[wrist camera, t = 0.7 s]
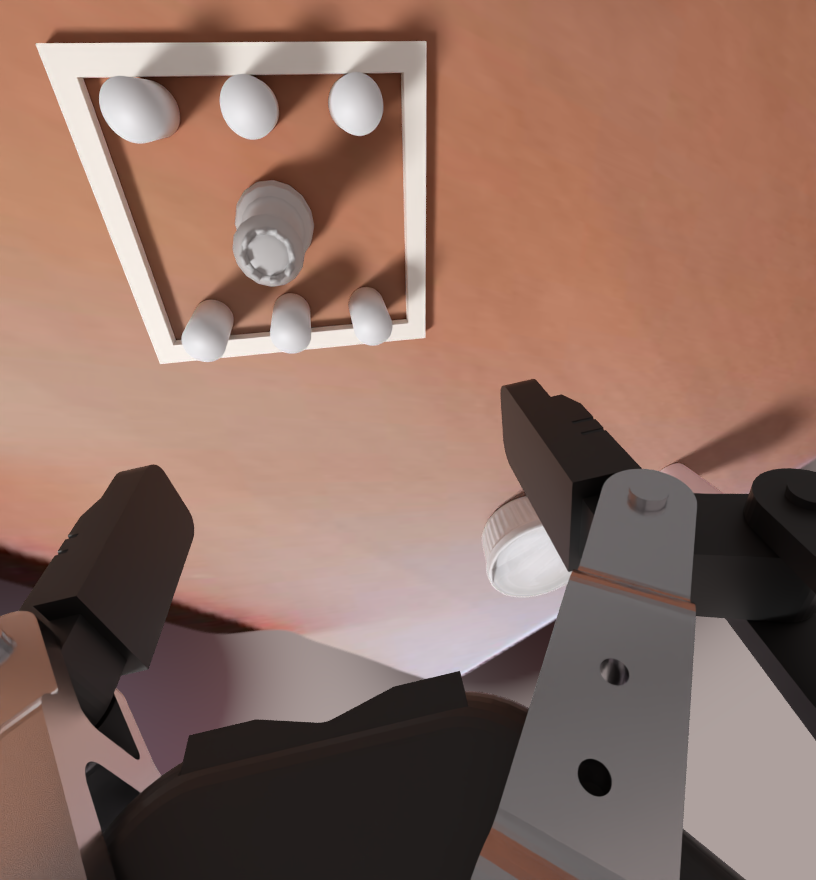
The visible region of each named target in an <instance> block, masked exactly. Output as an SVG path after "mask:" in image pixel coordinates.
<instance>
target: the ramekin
mask: <svg viewBox="0 0 816 880" xmlns="http://www.w3.org/2000/svg"><path fill="white" fill-rule="evenodd" d="M482 546H483V551H484V555H485V560H486V572H487V576H488V579H489V581H490V583H491V585H492V586H493V587H494V588H495V589H496V590H497V591H499V592H500V593H502V594H505V595H508V596H512V597H533V596H538V595H542V594H546V593H549V592H552V591H554V590H556V589H559V588H561V587H562V586H564V585H566V584H568V581H569V578H570V575H571V573H572V571H571V572H568V571H567V569H566V567H565V565H564V563H563V562H562V560H561V558H560V556H559V554H558V552H557V551H556V549H555V547H554V545H553V543H552V541H551V540H550V538H549V536H548V534H547V532H546V531H545V529H544V527H543V525H542V523H541V521H540V520H539V518H538V516H537V514H536V512H535V510H534V509H533V507H532V505H531V503H530V501H529V499H528V498H527V496H524V497H520V498H517V499H515V500H512V501H510V502H508V503H506V504H505V505H503V506H502V507H500V508H499V509H498V510H497V511H496V512H494V514H493V515H492V516H491V517H490V518H489V520H488V521H487V523H486V525H485V527H484V530H483V534H482Z"/></svg>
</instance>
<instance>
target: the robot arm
mask: <svg viewBox="0 0 816 880" xmlns="http://www.w3.org/2000/svg"><path fill="white" fill-rule="evenodd" d="M501 410H502V426H503V441H504V448H505V452H506V456H507V459H508V462H509V464H510V466H511V468H512V470H513V472H514V474H515V476H516V477H517V479H518V481H519V483H520V485H521V487H522V488H523V490H524V492H525V494H526V496H527V498H528V499H529V501H530V503H531V505H532V507H533V509H534V510H535V512H536V514H537V516H538V518H539V520H540V521H541V523H542V525H543V527H544V529H545V531H546V532H547V534H548V536H549V538H550V540H551V541H552V543H553V545H554V547H555V549H556V551H557V552H558V554H559V556H560V558H561V560H562V562H563V563H564V565H565V567H566V569H567V571H568V572H571V571H572V573H571V575H570V578H569V581H568V584H567V587H566V590H565V593H564V597H563V600H562V603H561V606H560V610H559V613H558V616H557V619H556V623H555V626H554V629H553V632H552V636H551V639H550V642H549V645H548V649H547V652H546V655H545V658H544V662H543V665H542V668H541V671H540V675H539V678H538V681H537V685H536V688H535V691H534V694H533V697H532V701H531V704H530V707H529V708H528V707H526V706H524V705H522V704H520V703H518V702H515V701H513V700H510V699H507V698H504V697H501V696H498V695H494V694H488V693H483V692H473V691H465V690H464V686H463V682H462V678H461V674H460V671H458V672H454V673H449V674H445V675H441V676H437V677H433V678H428V679H424V680H420V681H416V682H412V683H407V684H403V685H399V686H395V687H392V688H391V689H389V690H387V691H385V692H383V693H381V694H379V695H377V696H376V697H374V698H372V699H370V700H368V701H366V702H364V703H362V704H361V705H359V706H357V707H355V708H353V709H351V710H349V711H347V712H346V713H344V714H342V715H340V716H338V717H336V718H334V719H332V720H330V721H328V722H323V723H311V722H292V721H274V720H252V721H248V722H244V723H240V724H235V725H231V726H227V727H223V728H219V729H214V730H210V731H206V732H202V733H198V734H193V735H190V736H189V738H188V742H187V747H186V751H185V755H184V759H183V762H182V763H181V764H179V765H177V766H176V767H174V768H173V769H171V770H170V771H168V772H166V773H165V774H163V775H162V776H161V775H160V773H159V772H158V770H157V769H156V767H155V765H154V763H153V761H152V758H151V756H150V754H149V752H148V749H147V747H146V745H145V743H144V740H143V738H142V736H141V734H140V731H139V729H138V727H137V724H136V722H135V720H134V718H133V715H132V713H131V711H130V709H129V706H128V704H127V702H126V699H125V697H124V696H123V694H122V693H121V692H120V691H119V690H117V689H116V687H117V684H118V681H119V679H120V677H121V676H122V675H126V674H130V673H134V672H139V671H143V670H147V669H149V666H150V663H151V660H152V657H153V654H154V651H155V648H156V646H157V643H158V640H159V637H160V634H161V631H162V628H163V625H164V622H165V619H166V616H167V613H168V611H169V608H170V605H171V602H172V599H173V596H174V593H175V590H176V587H177V584H178V581H179V578H180V575H181V573H182V570H183V567H184V564H185V561H186V558H187V555H188V552H189V549H190V546H191V543H192V540H193V537H194V524H193V519H192V516H191V514H190V512H189V510H188V509H187V507H186V505H185V504H184V502H183V501H182V499H181V497H180V496H179V494H178V493H177V491H176V490H175V488H174V486H173V485H172V483H171V482H170V480H169V478H168V477H167V475H166V474H165V472H164V471H163V470H162V469H161V468H160V467H159V466H157V465H149V466H144V467H140V468H135V469H131V470H127V471H122V472H119V473H118V474H116V476H115V477H114V479H113V480H112V482H111V483H110V485H109V487H108V488H107V490H106V491H105V493H104V494H103V496H102V498H101V499H99V500H98V501H97V502H96V503H95V504H94V505H93V506H92V507H91V508H90V509H89V510H87V511H86V512H85V513H84V514H83V515H82V516H81V517H80V518H79V520H78V521H77V523H76V524H75V526H74V527H73V529H72V530H71V532H70V533H69V535H68V537H69V539H66V540H65V541H64V543H63V544H62V546H61V547H60V549H59V550H58V555H56V556H54V558H53V559H52V561H51V562H50V564H49V565H48V567H47V568H46V570H45V571H44V573H43V574H42V576H41V578H40V579H39V581H38V582H37V584H36V585H35V587H34V588H33V590H32V591H31V593H30V594H29V596H28V598H27V599H26V600H25V602H24V603H23V605H22V606H21V608H20V610H19V611H17V612H12V613H8V614H6V615H4V616H0V880H745V879H744V878H743V877H742V876H740V875H739V874H738V873H737V872H736V871H734V870H733V869H732V868H731V867H729V866H728V865H727V864H726V863H725V862H723V861H722V860H721V859H720V858H718V857H717V856H716V855H715V854H714V853H712V852H711V851H710V850H709V849H707V848H706V847H705V846H704V845H702V844H701V843H700V842H699V841H697V840H696V839H695V838H694V837H692V836H691V835H690V834H689V833H688V832H686V831H685V830H684V829H683V816H684V800H685V784H686V768H687V751H688V735H689V720H690V719H689V718H690V703H691V687H692V671H693V655H694V639H695V622H696V616H704V617H717V618H725V619H726V620H727V621H728V623H729V624H730V625H731V627H732V628H733V629H734V631H735V632H736V633H737V635H738V636H739V637H740V639H741V640H742V642H743V643H744V644H745V646H746V647H747V648H748V650H749V651H750V652H751V654H752V655H753V656H754V658H755V659H756V660H757V662H758V663H759V664H760V666H761V667H762V669H763V670H764V671H765V673H766V674H767V675H768V677H769V678H770V679H771V681H772V682H773V683H774V685H775V686H776V687H777V689H778V690H779V691H780V693H781V694H782V695H783V697H784V698H785V700H786V701H787V702H788V704H789V705H790V706H791V708H792V709H793V710H794V712H795V713H796V714H797V716H798V717H799V718H800V720H801V721H802V722H803V724H804V725H805V727H806V728H807V729H808V731H809V732H810V733H811V735H812V736H813V737H814V739H815V740H816V472H813V471H809V470H802V469H791V468H787V469H774V470H770V471H767V472H764V473H762V474H760V475H759V476H758V477H756V479H755V480H754V481H753V484H752V487H751V490H750V493H749V494H703V493H693V492H692V490H691V489H690V488H689V487H688V486H687V485H686V484H685V483H683V482H682V481H681V480H679V479H677V478H675V477H673V476H671V475H669V474H666V473H663V472H660V471H655V470H649V469H642V468H641V467H640V466H639V465H638V464H637V463H636V462H635V461H634V460H633V459H632V458H631V457H630V455H629V454H628V453H627V452H626V451H625V450H624V449H623V448H622V447H621V446H620V445H619V444H618V443H617V442H616V441H615V440H614V438H613V437H612V436H611V435H610V434H609V433H608V432H607V431H606V430H605V431H604V430H603V427H602V426H601V425H600V424H599V422H598V421H597V420H596V419H593V416H592V415H591V414H590V413H589V412H588V411H587V410H586V409H585V408H584V406H583V405H582V404H581V403H578V402H576V401H574V400H572V399H570V398H568V397H566V396H564V395H557V396H553V397H550V396H549V395H548V393H547V392H546V391H545V390H544V389H543V388H542V386H541V385H540V384H539V383H538V382H537V381H536V380H535V379H531V380H527V381H522V382H518V383H513V384H509V385H505V386H502V387H501Z"/></svg>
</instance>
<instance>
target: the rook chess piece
mask: <svg viewBox="0 0 816 880" xmlns="http://www.w3.org/2000/svg"><path fill="white" fill-rule="evenodd" d="M235 225H236V229H237V231H236V233H235V234H234V240H233V253H234V256H235V259H236V262H237V264H238V266H239V267H240V268H241V270H242V271H243V272H244V274H245V275H246V276H247V277H249V278H250V279H252V280H254V281H255V282H257V283H258V284H262V285H267V286H271V287H273V286H280V285H285V284H287V283H288V282H290V281H291V280H293V279H295V278H296V276H297V275H298V273H299V272H300V270H301V269H302V267H303V261H304V255H305V252H306V250H307V249H308V247H309V246H310V244H311V241H312V236H313V230H314V223H313V218H312V213H311V209H310V208H309V206H308V204H307V203H306V201H305V199H304V198H303V196H302V195H301V194H300V193H298V192H297V191H296V190H295V189H293V188H292V187H291V186H290V185H288V184H285V183H281V182H278V181H275V180H268V181H261V182H256V183H255V184H253V185H252V186H250V187H249V188H247V189H246V190H245V191H244V192H243V194H242V196H241V198H240V199H239V201H238V203H237V207H236V217H235Z"/></svg>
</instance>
